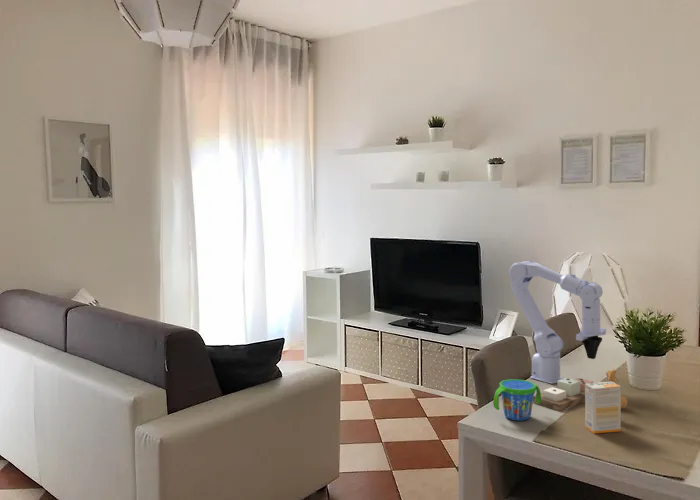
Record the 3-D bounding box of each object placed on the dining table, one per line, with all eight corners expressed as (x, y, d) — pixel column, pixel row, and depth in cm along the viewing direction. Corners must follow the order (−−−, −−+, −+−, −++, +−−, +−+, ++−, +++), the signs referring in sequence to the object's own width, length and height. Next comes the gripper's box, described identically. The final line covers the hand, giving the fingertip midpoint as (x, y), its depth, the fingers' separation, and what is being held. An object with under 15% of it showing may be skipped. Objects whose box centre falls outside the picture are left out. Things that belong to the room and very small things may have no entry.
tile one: (556, 406, 181) (556, 393, 181) (542, 402, 185) (542, 389, 185) (566, 403, 184) (566, 390, 184) (552, 399, 188) (552, 386, 188)
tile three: (584, 396, 190) (584, 384, 190) (571, 392, 194) (571, 380, 194) (593, 393, 193) (593, 381, 192) (579, 389, 197) (580, 377, 196)
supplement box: (611, 425, 166) (611, 380, 165) (621, 432, 162) (621, 386, 160) (584, 427, 165) (584, 382, 164) (593, 434, 161) (593, 388, 159)
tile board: (559, 411, 178) (559, 404, 178) (532, 402, 186) (532, 396, 186) (603, 394, 192) (603, 388, 192) (576, 387, 200) (576, 381, 200)
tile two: (570, 396, 185) (570, 383, 185) (557, 392, 190) (557, 380, 189) (580, 393, 188) (580, 380, 188) (566, 389, 192) (566, 377, 192)
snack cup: (531, 408, 181) (531, 376, 180) (550, 420, 171) (550, 387, 170) (485, 413, 178) (485, 381, 177) (502, 426, 167) (502, 392, 167)
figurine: (624, 413, 175) (625, 374, 174) (603, 410, 178) (603, 372, 177) (628, 405, 182) (629, 367, 181) (608, 402, 185) (608, 365, 184)
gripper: (589, 323, 190) (589, 364, 191) (614, 317, 198) (614, 356, 199) (570, 320, 196) (570, 360, 196) (595, 314, 204) (595, 352, 205)
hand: (591, 358), depth 198 cm, fingers closed
